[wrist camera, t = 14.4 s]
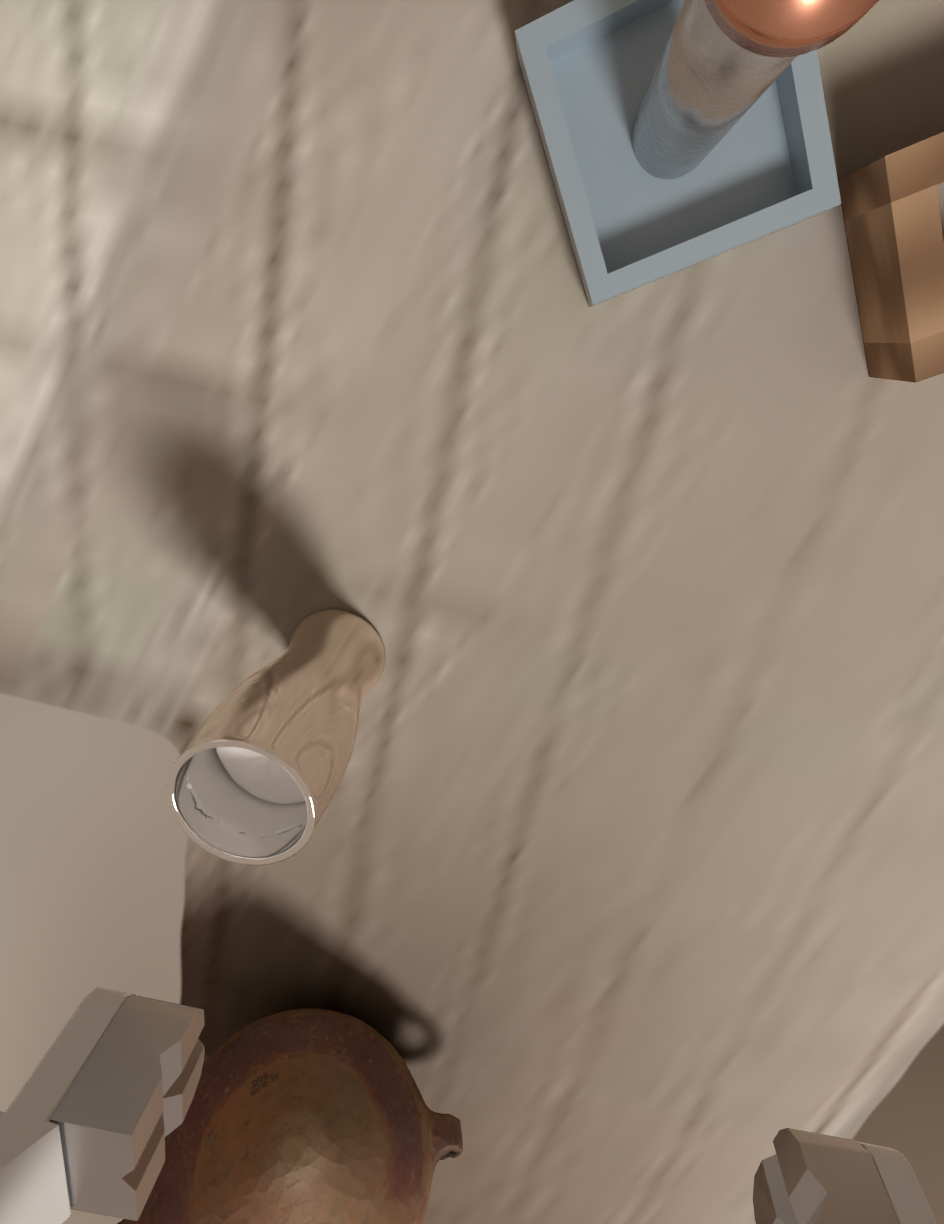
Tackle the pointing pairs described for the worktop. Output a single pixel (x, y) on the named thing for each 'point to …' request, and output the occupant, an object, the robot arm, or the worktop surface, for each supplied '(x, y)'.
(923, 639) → the worktop surface
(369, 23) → the worktop surface
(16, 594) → the worktop surface
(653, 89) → the pin
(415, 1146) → the jug
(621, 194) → the tray
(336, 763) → the beer glass
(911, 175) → the socket block
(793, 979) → the worktop surface
